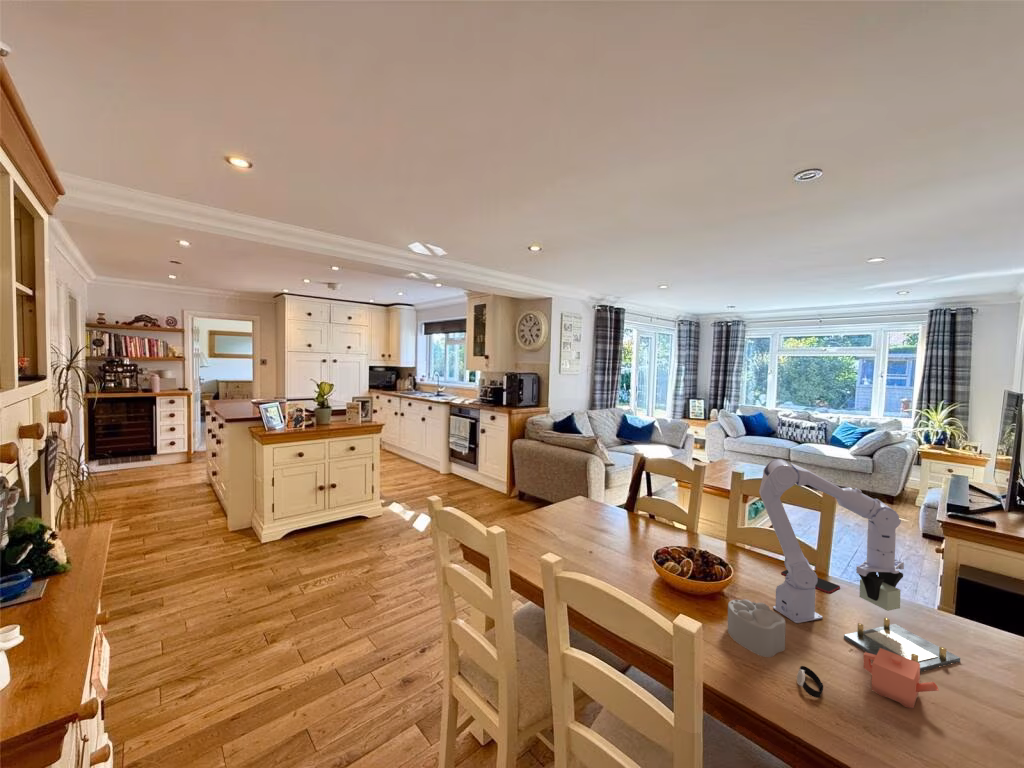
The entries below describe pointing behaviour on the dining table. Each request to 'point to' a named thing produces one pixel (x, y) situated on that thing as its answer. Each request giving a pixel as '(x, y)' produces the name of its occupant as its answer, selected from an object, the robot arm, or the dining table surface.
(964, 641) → the dining table surface
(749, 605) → the lumpy-topped squat cylinder
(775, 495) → the robot arm
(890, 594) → the board block
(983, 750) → the dining table surface
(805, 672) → the watch
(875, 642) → the chassis
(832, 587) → the smartphone
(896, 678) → the pink cube teapot
